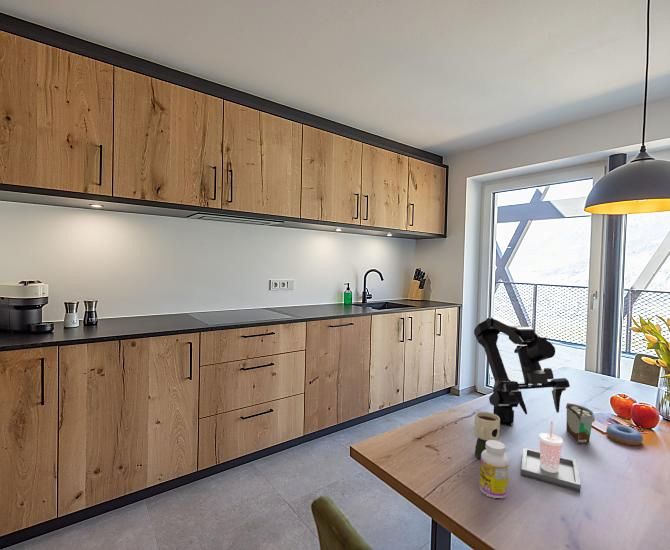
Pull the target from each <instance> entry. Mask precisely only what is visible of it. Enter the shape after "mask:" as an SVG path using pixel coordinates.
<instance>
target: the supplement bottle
mask: <svg viewBox="0 0 670 550" xmlns="http://www.w3.org/2000/svg"><path fill="white" fill-rule="evenodd" d="M485 447H486V449H485V450H484V451H483V452H482V453H481V458H480V469H479V471H480V472H479V476H480V477H479V489H480V491H481V493H482V494H484V495H485V494H486V495H485V496H487V495H488V496H490V497H489V498H491V497H493V498H492V499H495V498H501V499H504V498H505V497H507V494H508V484H509V483H508V482H509V480H508V479H509V478H508V477H509V462H510V461H509V457H508V455H507V454H506V453H505V452H506V445H505V444H504V442H501V441H499V440H488V441H486V446H485ZM488 496H487V497H488ZM503 497H504V498H503Z"/></svg>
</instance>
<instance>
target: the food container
mask: <svg viewBox="0 0 670 550" xmlns="http://www.w3.org/2000/svg"><path fill="white" fill-rule="evenodd" d="M565 408H566V433H567V434H568V435H569V436H570V437H571V439H573V441H574V442H575V443H576V444H577V445H587V444H589V443H590V438H591V433H592V432H591V431H592V425H593V423H594V422H595V421H596V418H595V414H594V412H593V411H592V410H591V409H589V408H587V407H585V406H582V405H579V404H577V403H569V402H568V403H567V402H566V406H565Z"/></svg>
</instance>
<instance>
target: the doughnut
mask: <svg viewBox="0 0 670 550" xmlns="http://www.w3.org/2000/svg"><path fill="white" fill-rule="evenodd" d="M605 432H606V435H607V436H608V438H610V440H612V441H615V442H617V443H619V444H622V445H626V446H639V445H641V444H642V443H643V440H644V438H643V437H644V436H643V434H642V433H641V432H640V431H638V430H637V429H636V428H633V427H631V426H627V425H623V424H616V423H615V424H614V423H613V424H609V425H608V426H607V427H606V431H605Z"/></svg>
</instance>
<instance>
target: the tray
mask: <svg viewBox="0 0 670 550" xmlns="http://www.w3.org/2000/svg"><path fill="white" fill-rule="evenodd" d="M522 450H523V451H522V458H521V459H522V461H521V468H520V469H521V470H520V476H521V477H523V478H527V479H531V480H535V481H538V482H541V483H545V484H548V485H552V486H557V487H560V488H563V489H566V490H571V491H574V492H578V493H581V488H582V487H581V480H580V473H579V467H578V460H576V459H574V458H569V457H565V456H561V455H560V462H559V469H558V472H556V473H552V472H548V471H545V470H543V469H542V468H541V467H540V450H536V449H531V448H528V447H523V449H522Z"/></svg>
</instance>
